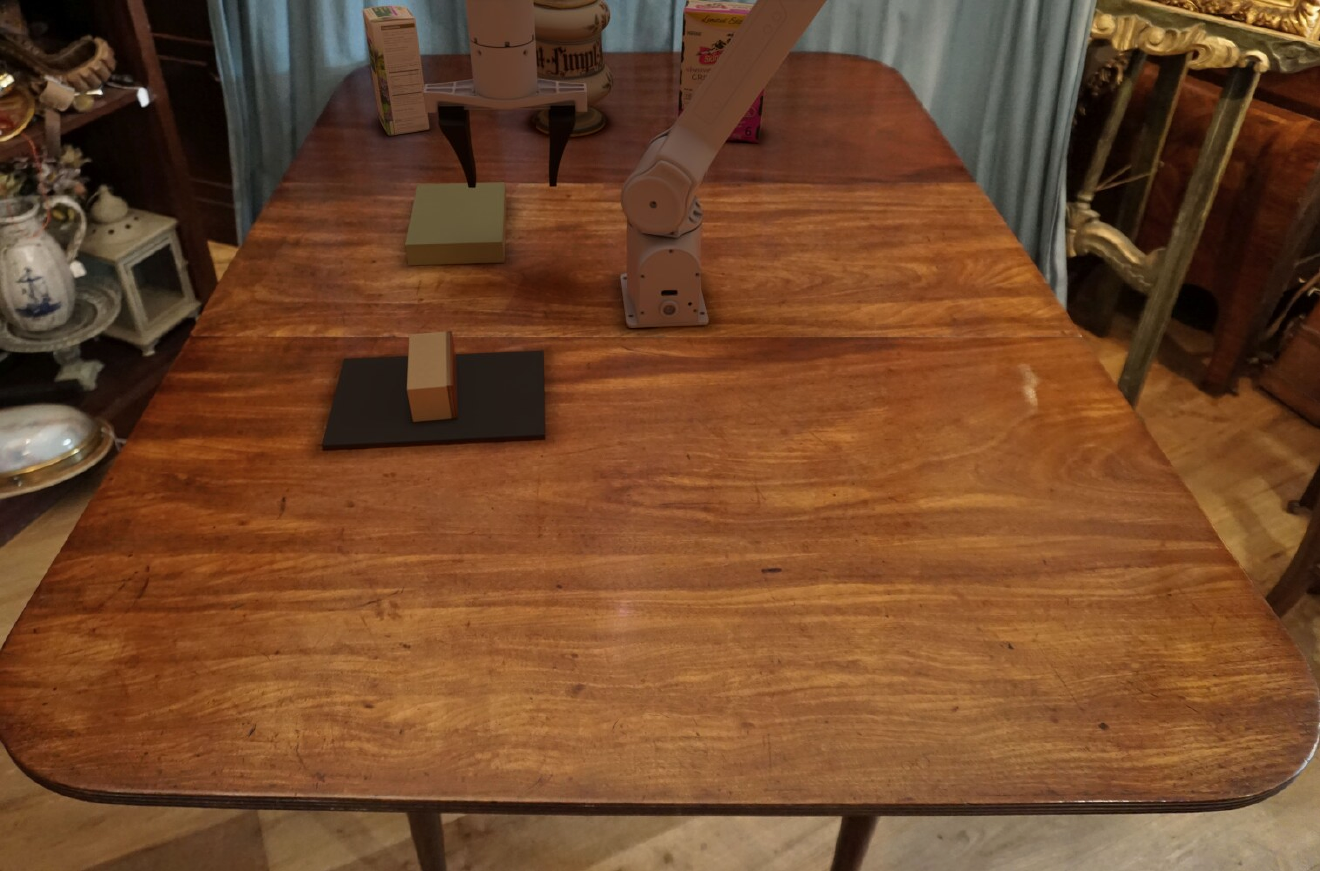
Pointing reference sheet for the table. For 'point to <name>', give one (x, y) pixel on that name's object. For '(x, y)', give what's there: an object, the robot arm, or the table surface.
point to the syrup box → (396, 68)
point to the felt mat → (489, 409)
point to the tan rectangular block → (432, 376)
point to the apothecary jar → (573, 54)
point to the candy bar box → (713, 55)
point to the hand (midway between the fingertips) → (512, 182)
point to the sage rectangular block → (457, 224)
